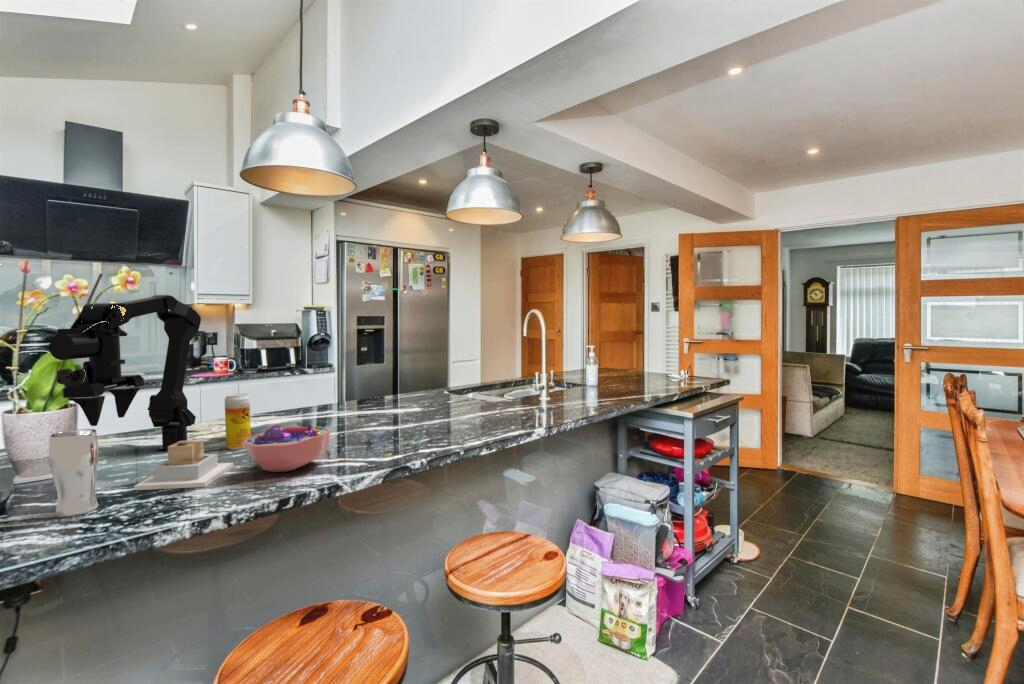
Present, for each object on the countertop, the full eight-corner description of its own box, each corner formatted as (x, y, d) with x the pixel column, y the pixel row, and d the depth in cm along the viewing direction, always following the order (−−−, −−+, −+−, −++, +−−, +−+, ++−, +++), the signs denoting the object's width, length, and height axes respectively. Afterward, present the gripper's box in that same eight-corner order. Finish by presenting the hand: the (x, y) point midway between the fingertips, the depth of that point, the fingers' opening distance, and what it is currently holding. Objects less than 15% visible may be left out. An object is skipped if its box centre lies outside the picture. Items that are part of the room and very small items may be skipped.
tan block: (181, 470, 111) (180, 439, 111) (204, 469, 112) (203, 438, 112) (169, 477, 106) (167, 444, 106) (193, 476, 107) (191, 444, 107)
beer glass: (48, 521, 86) (44, 439, 85) (56, 509, 92) (51, 432, 91) (99, 512, 90) (95, 433, 89) (103, 500, 96) (99, 427, 95)
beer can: (240, 451, 131) (238, 397, 130) (221, 450, 132) (219, 396, 131) (256, 445, 136) (254, 393, 136) (237, 444, 138) (236, 392, 137)
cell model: (346, 463, 120) (345, 419, 119) (267, 487, 103) (266, 435, 102) (307, 452, 129) (306, 411, 128) (229, 472, 113) (227, 425, 112)
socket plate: (171, 469, 115) (171, 453, 115) (233, 466, 117) (233, 450, 117) (134, 490, 101) (133, 471, 101) (205, 486, 103) (204, 468, 103)
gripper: (95, 353, 121) (98, 414, 122) (32, 360, 102) (36, 432, 103) (143, 353, 122) (146, 413, 123) (90, 359, 104) (93, 430, 105)
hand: (108, 421), depth 114 cm, fingers open, 9 cm apart
